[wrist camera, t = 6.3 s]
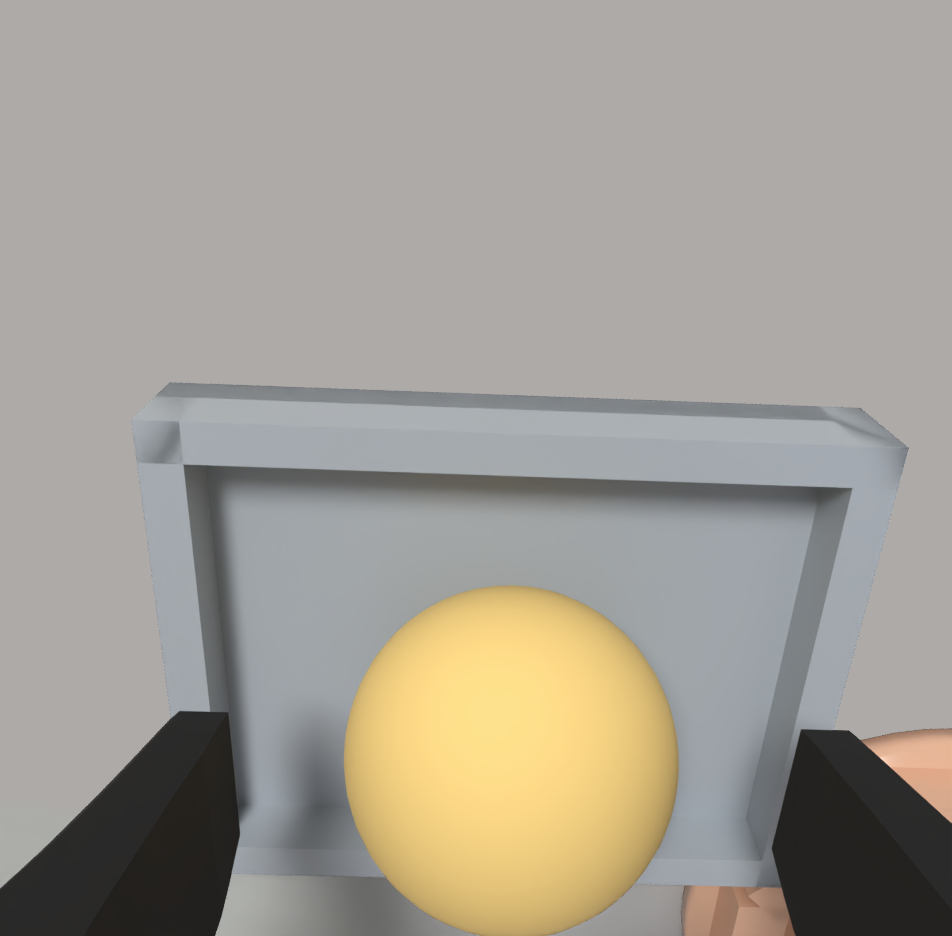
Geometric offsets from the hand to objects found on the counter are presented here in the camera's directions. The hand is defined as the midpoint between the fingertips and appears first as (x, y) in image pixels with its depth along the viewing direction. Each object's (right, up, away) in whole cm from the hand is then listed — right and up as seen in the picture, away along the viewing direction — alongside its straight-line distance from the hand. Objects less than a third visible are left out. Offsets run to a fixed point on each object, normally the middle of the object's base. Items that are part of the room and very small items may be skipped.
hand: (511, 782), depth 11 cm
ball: (0, 0, +1) cm, 1 cm away
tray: (0, +1, +3) cm, 3 cm away
